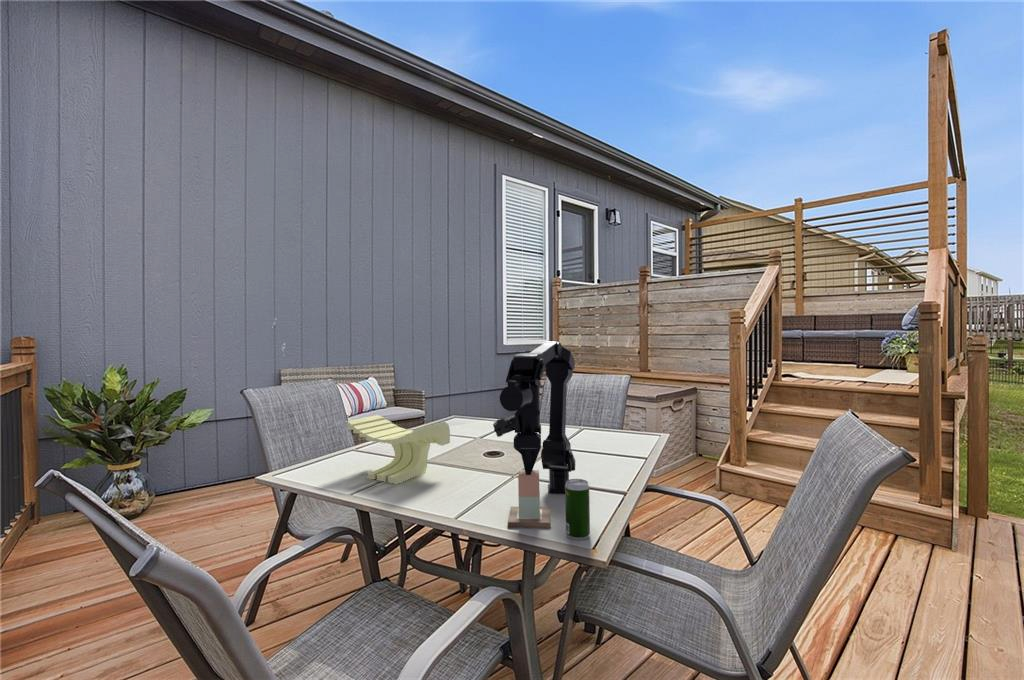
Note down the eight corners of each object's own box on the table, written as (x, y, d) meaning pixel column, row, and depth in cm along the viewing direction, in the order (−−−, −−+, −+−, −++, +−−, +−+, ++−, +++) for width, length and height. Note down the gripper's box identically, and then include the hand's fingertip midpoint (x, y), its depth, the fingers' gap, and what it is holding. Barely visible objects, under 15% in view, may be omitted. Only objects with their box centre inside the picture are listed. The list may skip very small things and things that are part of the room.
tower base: (510, 511, 117) (510, 506, 117) (549, 511, 117) (549, 506, 117) (507, 527, 107) (507, 521, 107) (550, 527, 107) (550, 522, 107)
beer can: (573, 542, 99) (573, 487, 99) (561, 533, 104) (560, 480, 104) (594, 538, 101) (594, 483, 101) (581, 529, 106) (581, 477, 106)
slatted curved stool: (450, 474, 150) (449, 420, 150) (417, 488, 137) (416, 428, 137) (383, 463, 165) (383, 413, 165) (348, 474, 152) (347, 420, 151)
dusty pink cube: (519, 489, 115) (519, 470, 115) (539, 490, 114) (539, 470, 114) (518, 496, 110) (518, 475, 110) (539, 496, 110) (539, 476, 109)
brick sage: (539, 510, 114) (539, 490, 114) (539, 517, 109) (539, 497, 109) (519, 509, 115) (519, 489, 115) (518, 517, 110) (518, 496, 110)
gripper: (498, 400, 122) (499, 459, 122) (491, 411, 103) (491, 480, 103) (540, 400, 121) (541, 459, 121) (540, 411, 102) (541, 481, 102)
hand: (528, 469), depth 112 cm, fingers open, 9 cm apart
